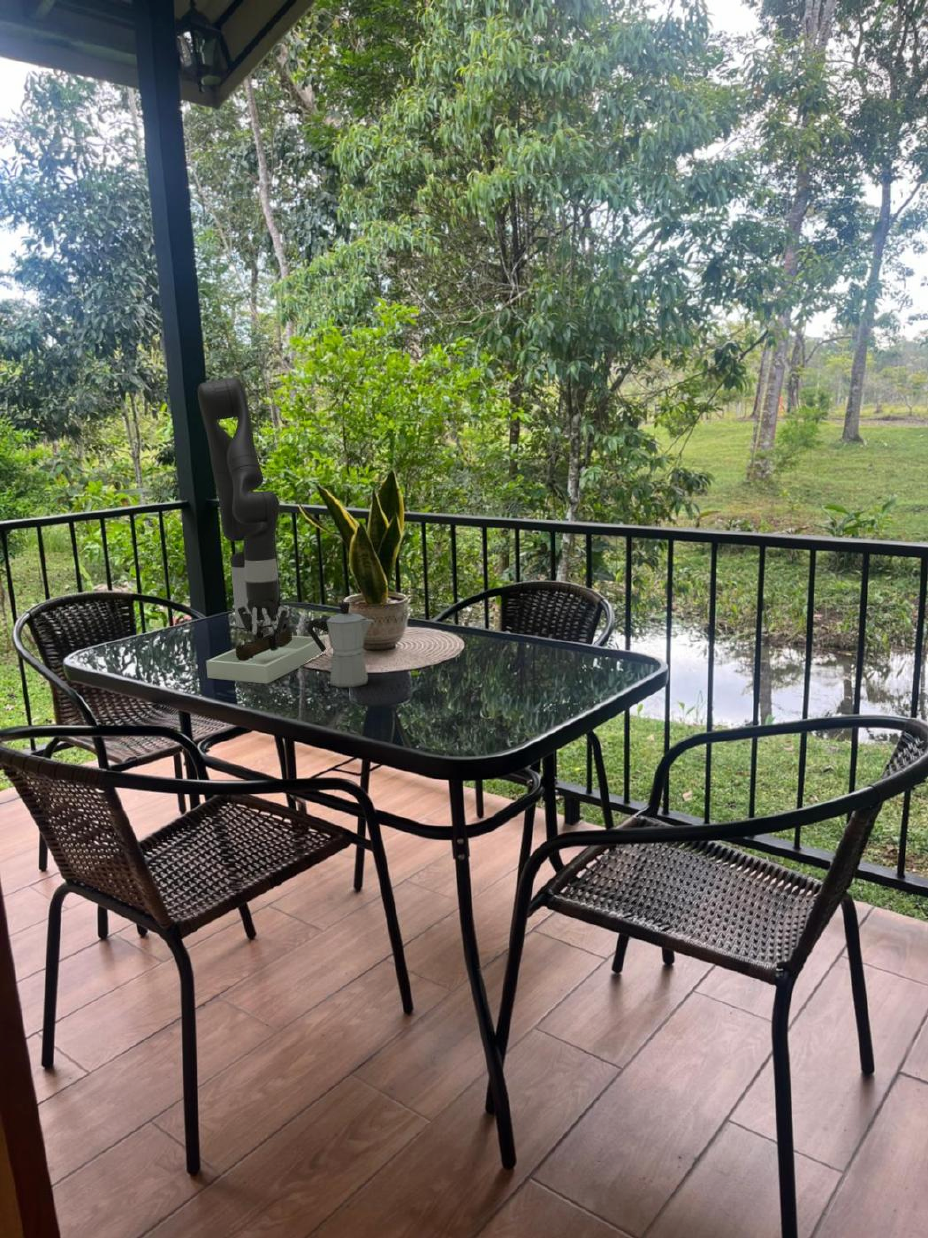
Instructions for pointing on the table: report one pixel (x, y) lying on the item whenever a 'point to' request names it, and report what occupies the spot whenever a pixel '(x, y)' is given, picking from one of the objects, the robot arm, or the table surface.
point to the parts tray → (264, 662)
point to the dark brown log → (261, 645)
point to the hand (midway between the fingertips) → (267, 649)
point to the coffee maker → (344, 645)
